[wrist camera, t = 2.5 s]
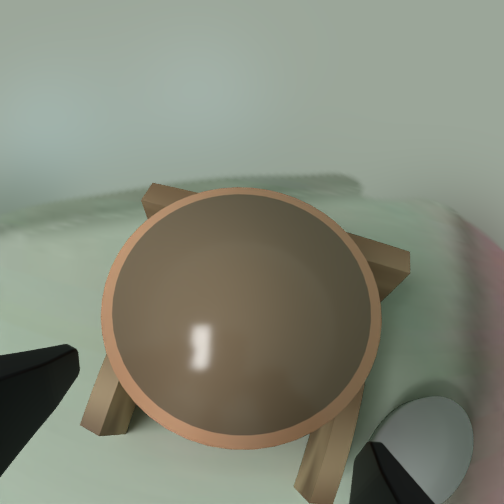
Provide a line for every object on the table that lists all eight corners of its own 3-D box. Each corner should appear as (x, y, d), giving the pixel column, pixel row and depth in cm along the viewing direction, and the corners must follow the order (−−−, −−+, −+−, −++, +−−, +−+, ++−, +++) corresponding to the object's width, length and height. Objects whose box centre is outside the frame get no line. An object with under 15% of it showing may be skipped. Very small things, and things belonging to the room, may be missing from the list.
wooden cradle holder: (312, 489, 13) (364, 528, 6) (109, 425, 14) (35, 421, 8) (353, 312, 20) (409, 252, 13) (176, 262, 21) (152, 182, 14)
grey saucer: (464, 485, 12) (474, 486, 11) (362, 531, 11) (370, 536, 10) (457, 384, 16) (466, 381, 15) (355, 415, 16) (363, 414, 15)
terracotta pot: (293, 421, 16) (403, 421, 5) (186, 426, 15) (94, 440, 4) (283, 324, 19) (347, 187, 8) (184, 327, 18) (123, 192, 8)
